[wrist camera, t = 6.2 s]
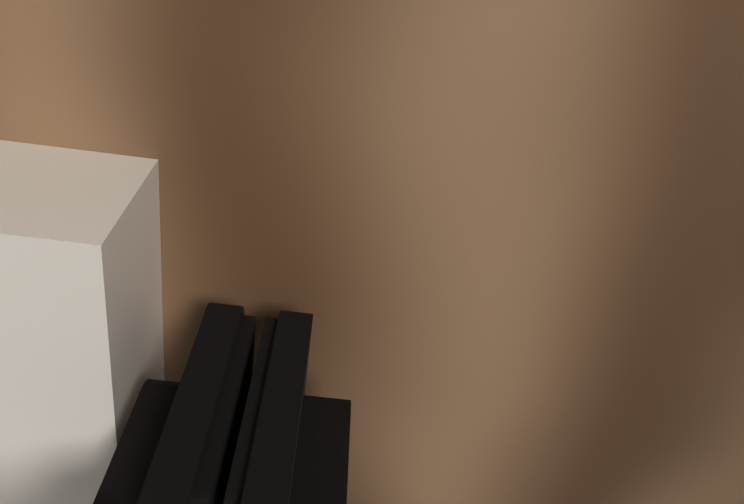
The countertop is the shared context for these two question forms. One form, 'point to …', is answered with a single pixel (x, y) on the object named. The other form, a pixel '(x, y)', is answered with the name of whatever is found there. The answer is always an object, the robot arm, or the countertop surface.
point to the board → (442, 219)
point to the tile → (74, 314)
